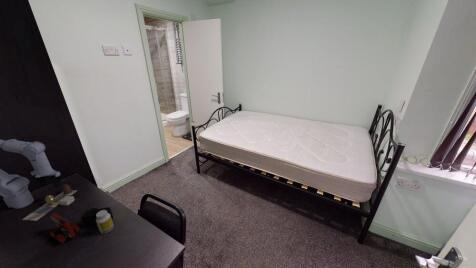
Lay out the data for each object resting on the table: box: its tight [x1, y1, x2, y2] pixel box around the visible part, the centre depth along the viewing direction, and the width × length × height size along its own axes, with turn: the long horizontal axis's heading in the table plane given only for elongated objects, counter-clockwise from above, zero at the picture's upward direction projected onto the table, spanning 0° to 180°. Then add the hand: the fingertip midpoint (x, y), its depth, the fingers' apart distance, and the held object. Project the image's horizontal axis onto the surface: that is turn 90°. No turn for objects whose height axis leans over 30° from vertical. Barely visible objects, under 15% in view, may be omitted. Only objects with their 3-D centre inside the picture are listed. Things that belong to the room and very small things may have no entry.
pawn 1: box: [44, 194, 57, 207], centre depth 94 cm, size 4×4×6 cm
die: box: [59, 195, 76, 206], centre depth 96 cm, size 4×4×4 cm
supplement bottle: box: [96, 210, 115, 235], centre depth 81 cm, size 5×5×10 cm
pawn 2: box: [61, 184, 73, 195], centre depth 102 cm, size 4×4×6 cm
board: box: [21, 189, 78, 222], centre depth 96 cm, size 8×22×1 cm, turn 176°
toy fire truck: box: [49, 212, 81, 244], centre depth 78 cm, size 7×12×10 cm, turn 67°
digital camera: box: [80, 206, 114, 229], centre depth 85 cm, size 10×5×7 cm, turn 104°
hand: (51, 186), depth 96 cm, fingers open, 7 cm apart
